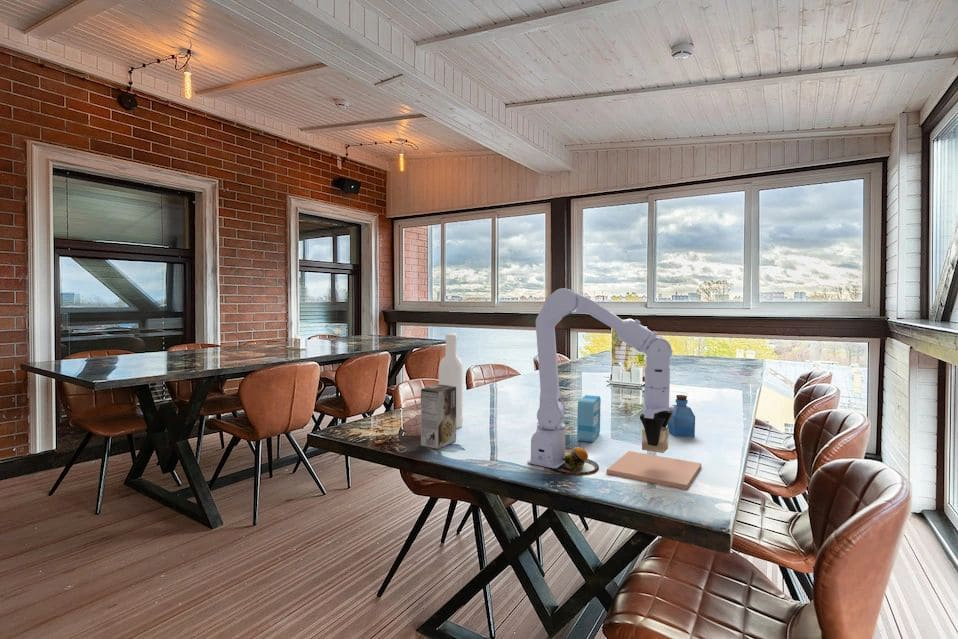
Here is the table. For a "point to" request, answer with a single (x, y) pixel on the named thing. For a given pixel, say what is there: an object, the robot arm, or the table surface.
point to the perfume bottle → (681, 419)
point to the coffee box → (438, 416)
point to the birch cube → (662, 442)
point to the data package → (588, 418)
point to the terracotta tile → (655, 469)
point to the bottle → (453, 374)
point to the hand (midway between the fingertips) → (655, 442)
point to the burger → (578, 462)
